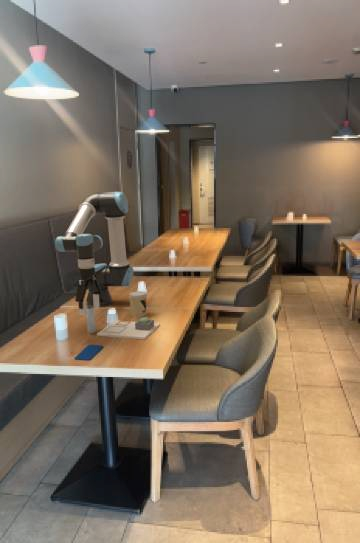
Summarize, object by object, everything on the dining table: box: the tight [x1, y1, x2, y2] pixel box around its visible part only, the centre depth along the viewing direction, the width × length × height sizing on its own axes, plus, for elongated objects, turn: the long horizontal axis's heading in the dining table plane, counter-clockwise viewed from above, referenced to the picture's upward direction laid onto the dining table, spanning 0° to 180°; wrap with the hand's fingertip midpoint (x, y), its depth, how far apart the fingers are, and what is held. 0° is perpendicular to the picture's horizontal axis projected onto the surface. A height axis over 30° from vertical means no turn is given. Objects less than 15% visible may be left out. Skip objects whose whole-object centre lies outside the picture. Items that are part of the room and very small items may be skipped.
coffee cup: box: [128, 290, 148, 318], centre depth 239 cm, size 9×9×12 cm
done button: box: [139, 316, 150, 323], centre depth 216 cm, size 4×4×3 cm
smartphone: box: [74, 344, 104, 361], centre depth 190 cm, size 7×1×15 cm
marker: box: [85, 305, 96, 334], centre depth 215 cm, size 4×4×13 cm
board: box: [96, 318, 160, 340], centre depth 216 cm, size 24×20×4 cm
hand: (89, 311), depth 213 cm, fingers open, 13 cm apart
